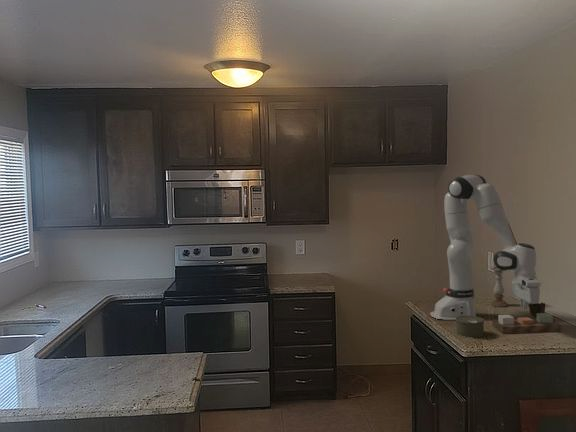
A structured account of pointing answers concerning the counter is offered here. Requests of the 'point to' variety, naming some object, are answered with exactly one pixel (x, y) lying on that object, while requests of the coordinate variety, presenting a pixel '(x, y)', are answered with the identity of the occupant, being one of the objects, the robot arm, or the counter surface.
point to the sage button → (544, 318)
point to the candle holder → (498, 289)
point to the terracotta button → (525, 320)
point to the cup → (536, 309)
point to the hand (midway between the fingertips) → (523, 308)
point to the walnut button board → (526, 327)
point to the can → (470, 326)
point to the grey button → (505, 319)
